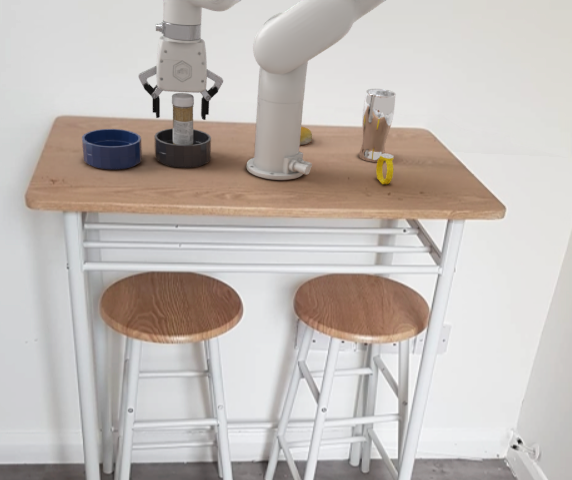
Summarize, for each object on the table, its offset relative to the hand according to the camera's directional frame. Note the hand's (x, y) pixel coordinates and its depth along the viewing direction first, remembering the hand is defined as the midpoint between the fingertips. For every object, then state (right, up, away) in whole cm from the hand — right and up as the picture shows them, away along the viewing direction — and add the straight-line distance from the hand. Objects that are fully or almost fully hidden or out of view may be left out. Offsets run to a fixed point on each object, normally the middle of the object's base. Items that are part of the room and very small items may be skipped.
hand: (180, 117), depth 150 cm
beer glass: (+42, -5, +15) cm, 45 cm away
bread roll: (+24, +1, +22) cm, 33 cm away
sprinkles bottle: (0, -8, +5) cm, 9 cm away
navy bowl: (-15, -9, +1) cm, 17 cm away
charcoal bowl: (0, -8, +5) cm, 9 cm away
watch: (+43, -14, +2) cm, 45 cm away
